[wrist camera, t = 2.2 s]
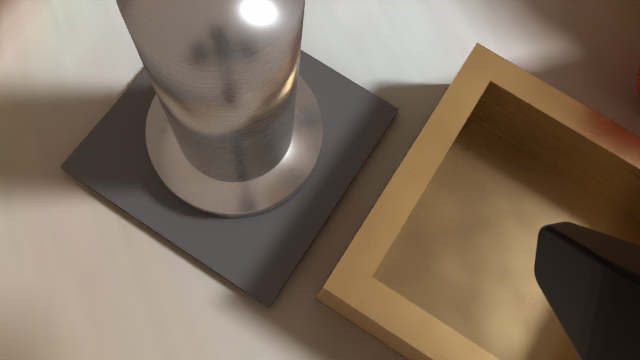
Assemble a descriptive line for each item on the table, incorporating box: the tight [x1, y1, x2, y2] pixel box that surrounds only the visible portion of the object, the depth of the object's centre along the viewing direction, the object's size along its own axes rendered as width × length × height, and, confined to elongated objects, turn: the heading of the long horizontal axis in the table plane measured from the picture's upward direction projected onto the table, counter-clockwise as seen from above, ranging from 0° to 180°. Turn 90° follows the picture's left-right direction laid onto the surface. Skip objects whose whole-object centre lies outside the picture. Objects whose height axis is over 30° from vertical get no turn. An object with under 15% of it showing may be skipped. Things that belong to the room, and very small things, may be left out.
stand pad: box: [61, 50, 399, 308], centre depth 23 cm, size 10×10×1 cm
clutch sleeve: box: [116, 0, 323, 219], centre depth 18 cm, size 7×7×10 cm
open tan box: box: [316, 43, 640, 360], centre depth 21 cm, size 11×11×3 cm
